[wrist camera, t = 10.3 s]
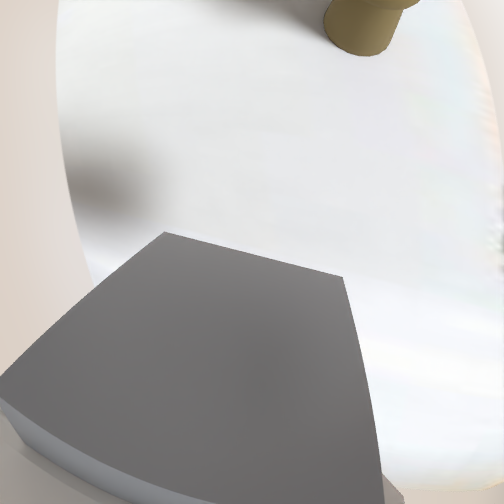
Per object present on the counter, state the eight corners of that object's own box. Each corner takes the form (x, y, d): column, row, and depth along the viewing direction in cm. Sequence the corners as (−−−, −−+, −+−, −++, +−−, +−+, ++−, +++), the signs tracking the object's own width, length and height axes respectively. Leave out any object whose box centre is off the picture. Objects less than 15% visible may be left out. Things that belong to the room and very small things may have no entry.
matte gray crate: (164, 231, 11) (-11, 388, 3) (342, 277, 11) (386, 516, 3) (156, 360, 14) (75, 503, 6) (290, 397, 14) (271, 563, 6)
